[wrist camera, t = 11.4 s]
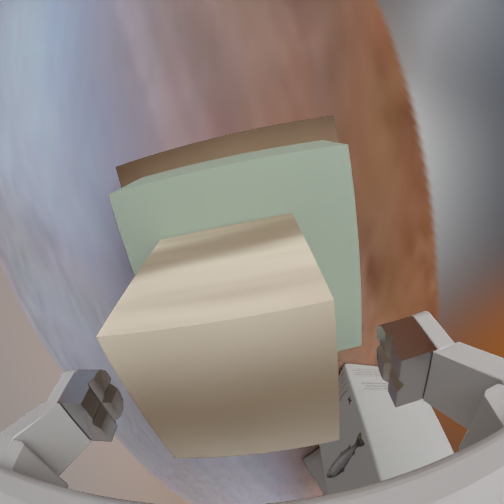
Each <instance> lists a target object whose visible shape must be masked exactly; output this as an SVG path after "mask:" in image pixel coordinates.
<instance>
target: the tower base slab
mask: <svg viewBox="0 0 504 504" xmlns="http://www.w3.org/2000/svg"><path fill="white" fill-rule="evenodd" d="M321 140H325V141H331V142H336V143H339V141H338V135H337V130H336V124H335V119H334V116H327V117H320V118H313V119H307V120H301V121H295V122H289V123H283V124H278V125H272V126H267V127H262V128H257V129H252V130H248V131H243V132H238V133H234V134H229V135H225V136H221V137H217V138H213V139H209V140H205V141H201V142H197V143H193V144H189V145H186V146H182V147H178V148H175V149H171V150H168V151H164V152H161V153H158V154H154V155H151V156H148V157H145V158H142V159H138V160H135V161H132V162H129V163H126V164H123V165H120V166H117V167H116V170H117V174H118V177H119V181H120V184H121V188H122V187H124V186H126V185H128V184H130V183H132V182H134V181H136V180H138V179H140V178H142V177H146V176H149V175H153V174H157V173H161V172H164V171H168V170H172V169H176V168H180V167H184V166H188V165H193V164H197V163H201V162H206V161H210V160H215V159H219V158H224V157H229V156H233V155H238V154H243V153H248V152H254V151H259V150H264V149H270V148H276V147H282V146H288V145H294V144H300V143H307V142H314V141H321Z"/></svg>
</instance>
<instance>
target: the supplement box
mask: <svg viewBox="0 0 504 504" xmlns="http://www.w3.org/2000/svg"><path fill="white" fill-rule="evenodd" d="M319 446H320V452H321V457H322V463H323V469H324V475H325V481H326V486H327V492H328V494H332V493H337V492H341V491H346V490H350V489H354V488H358V487H362V486H365V485H369V484H372V483H376V482H379V481H383V480H386V479H389V478H392V477H395V476H398V475H401V474H404V473H407V472H410V471H412V470H415V469H418V468H420V467H423V466H425V465H428V464H430V463H433V462H435V461H438V460H440V459H442V458H445V457H447V456H449V455H451V454H454V452H453V450H452V448H451V446H450V444H449V442H448V440H447V437H446V436H445V433H444V431H443V429H442V427H441V425H440V423H439V421H438V419H437V417H436V415H435V413H434V411H433V409H432V407H431V405H430V404H428V403H427V402H425V401H424V400H423V399H421V400H418V401H415V402H412V403H408V404H405V405H402V406H399V407H395V406H394V404H393V401H392V399H391V397H390V395H389V392H388V382H386V381H384V380H383V379H382V377H381V374H380V372H379V368H378V366H368V365H358V364H345V365H344V366H343V368H342V371H341V373H340V375H339V440H337V441H332V442H328V443H323V444H319Z"/></svg>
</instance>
